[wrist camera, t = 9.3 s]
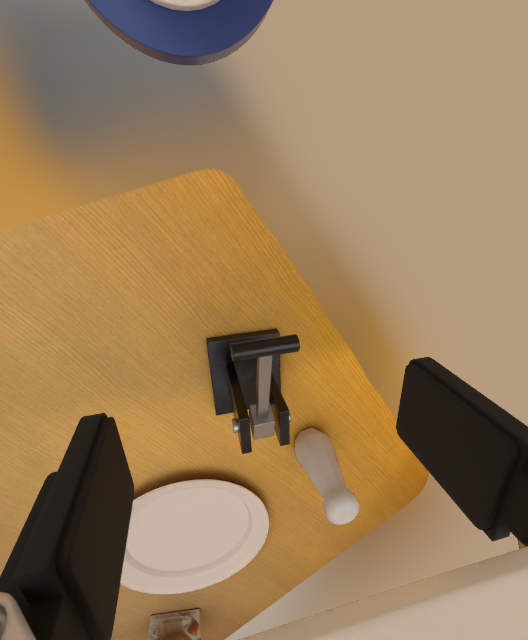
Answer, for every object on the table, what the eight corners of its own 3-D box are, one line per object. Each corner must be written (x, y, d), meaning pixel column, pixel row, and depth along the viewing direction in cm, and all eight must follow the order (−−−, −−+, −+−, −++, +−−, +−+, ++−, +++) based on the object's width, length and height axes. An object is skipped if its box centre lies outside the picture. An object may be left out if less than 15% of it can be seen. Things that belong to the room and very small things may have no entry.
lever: (228, 335, 26) (233, 357, 24) (293, 326, 27) (302, 347, 25) (234, 422, 35) (237, 443, 33) (282, 413, 36) (289, 432, 34)
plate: (295, 496, 54) (299, 506, 52) (212, 590, 59) (212, 603, 57) (159, 447, 44) (158, 458, 42) (71, 566, 49) (66, 581, 47)
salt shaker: (326, 420, 49) (371, 493, 37) (324, 448, 51) (366, 526, 40) (290, 426, 48) (324, 504, 36) (289, 455, 50) (321, 537, 38)
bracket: (206, 338, 39) (214, 395, 29) (276, 328, 41) (309, 378, 30) (215, 410, 44) (225, 482, 33) (278, 398, 45) (307, 463, 35)
